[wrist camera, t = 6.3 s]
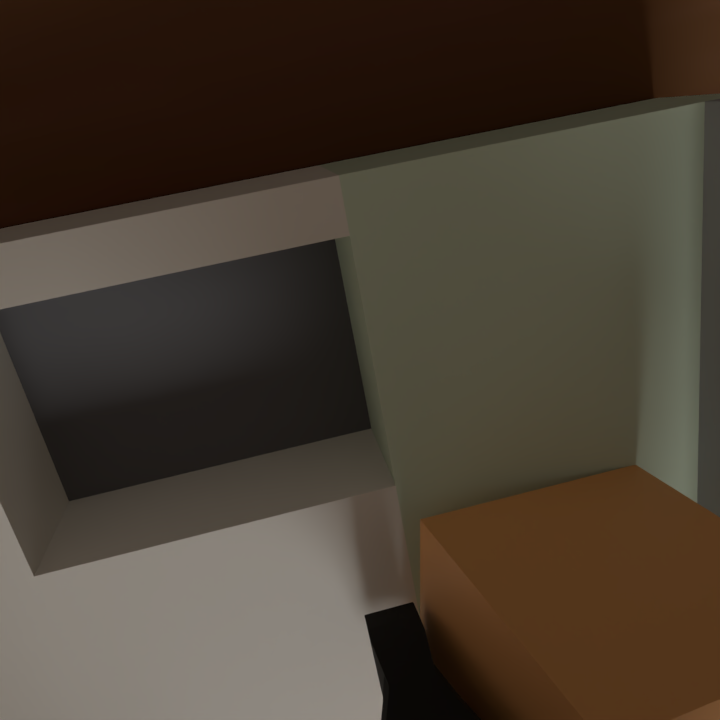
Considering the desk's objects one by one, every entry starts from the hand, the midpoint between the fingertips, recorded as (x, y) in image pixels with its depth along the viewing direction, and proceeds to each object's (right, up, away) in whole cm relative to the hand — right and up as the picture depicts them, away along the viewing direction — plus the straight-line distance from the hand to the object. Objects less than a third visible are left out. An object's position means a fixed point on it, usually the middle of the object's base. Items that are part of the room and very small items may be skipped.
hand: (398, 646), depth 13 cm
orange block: (+3, +1, +1) cm, 3 cm away
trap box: (-3, +1, +3) cm, 5 cm away
